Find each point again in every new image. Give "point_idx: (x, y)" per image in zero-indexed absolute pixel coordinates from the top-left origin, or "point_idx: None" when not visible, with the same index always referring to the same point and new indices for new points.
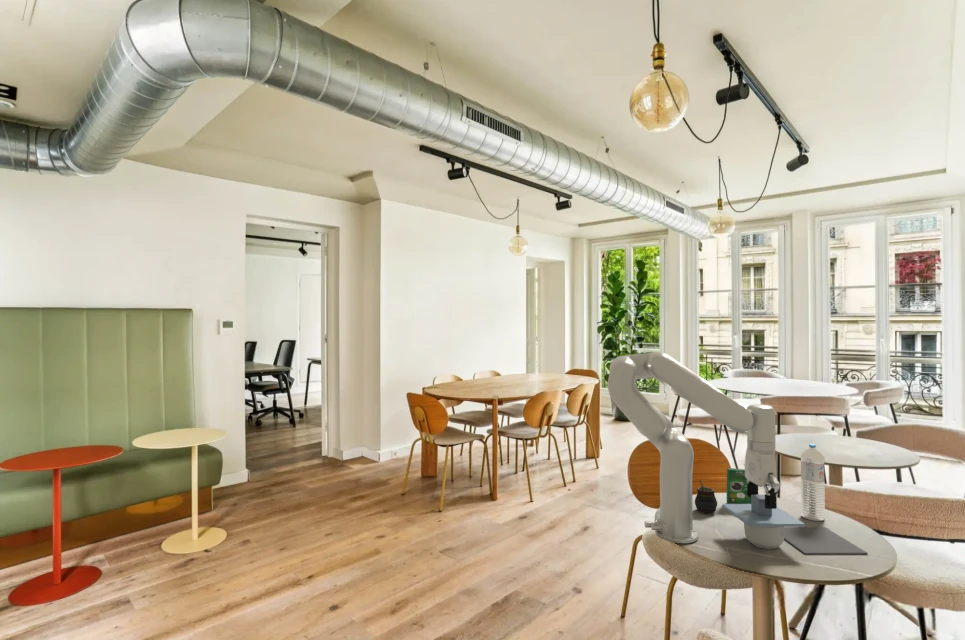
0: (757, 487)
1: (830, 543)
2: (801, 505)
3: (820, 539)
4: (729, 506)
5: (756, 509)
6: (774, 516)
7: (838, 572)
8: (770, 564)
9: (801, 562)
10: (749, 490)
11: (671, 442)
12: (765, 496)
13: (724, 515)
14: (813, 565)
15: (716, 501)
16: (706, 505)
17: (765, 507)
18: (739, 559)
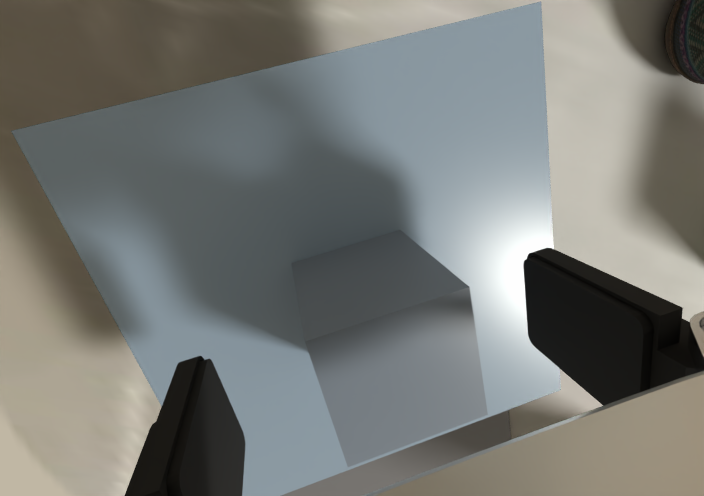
0: (607, 401)
1: (365, 481)
2: None
3: (396, 458)
4: (484, 57)
5: (332, 269)
6: (314, 370)
7: (82, 464)
8: (26, 208)
9: (131, 354)
10: (576, 292)
11: None
12: (140, 475)
13: (641, 124)
14: (117, 393)
15: None
16: None
17: (181, 361)
18: (11, 36)
